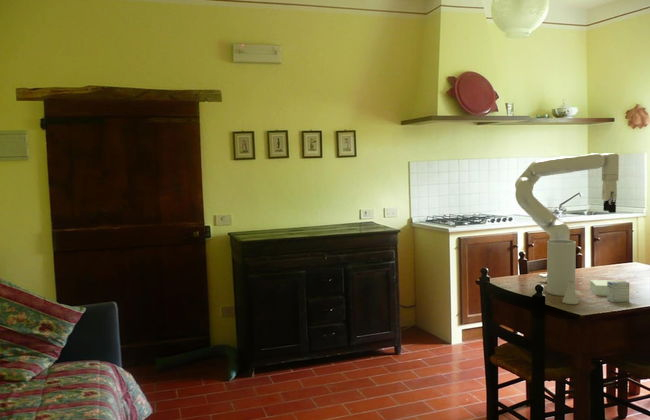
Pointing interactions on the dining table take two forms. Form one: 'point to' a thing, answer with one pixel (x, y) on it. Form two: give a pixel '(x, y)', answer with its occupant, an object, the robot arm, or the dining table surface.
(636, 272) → the dining table surface
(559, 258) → the cylinder vase
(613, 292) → the medicine box
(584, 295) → the dining table surface
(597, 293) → the sage block
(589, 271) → the dining table surface
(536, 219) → the robot arm
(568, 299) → the flask
